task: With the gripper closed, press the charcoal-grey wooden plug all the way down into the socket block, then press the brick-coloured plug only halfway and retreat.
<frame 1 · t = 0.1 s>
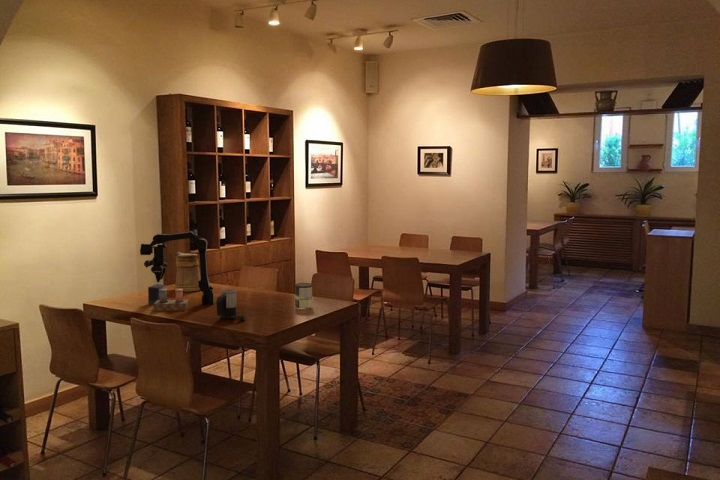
hand: (159, 280, 351), 15 cm above the table, fingers open, 9 cm apart
tankard: (186, 289, 400), on the table
coffee can: (303, 307, 350), on the table
milk frother: (233, 319, 322), on the table
small box: (157, 302, 358), on the table
grey plug: (163, 296, 342), point 7 cm above the table, slide at 0.0 cm
brick plug: (179, 296, 343), point 7 cm above the table, slide at 0.0 cm
socket block: (171, 308, 343), on the table
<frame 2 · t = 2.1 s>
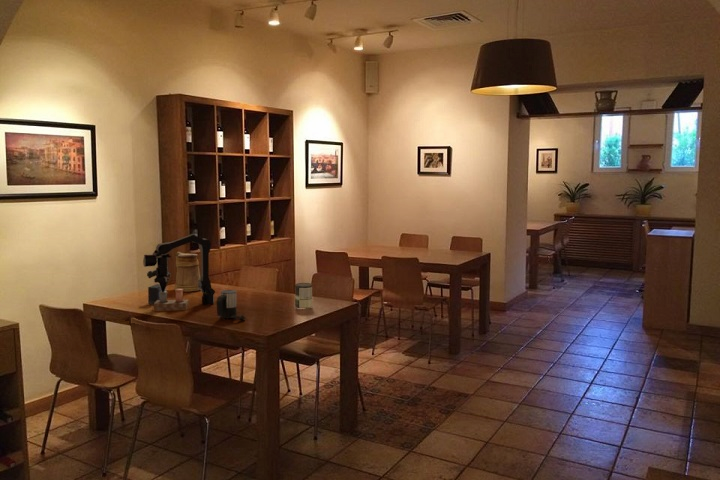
hand: (163, 291, 342), 10 cm above the table, fingers closed, pressing on grey plug
grey plug: (163, 298, 342), point 6 cm above the table, slide at 1.2 cm, touching gripper
everything else where it was.
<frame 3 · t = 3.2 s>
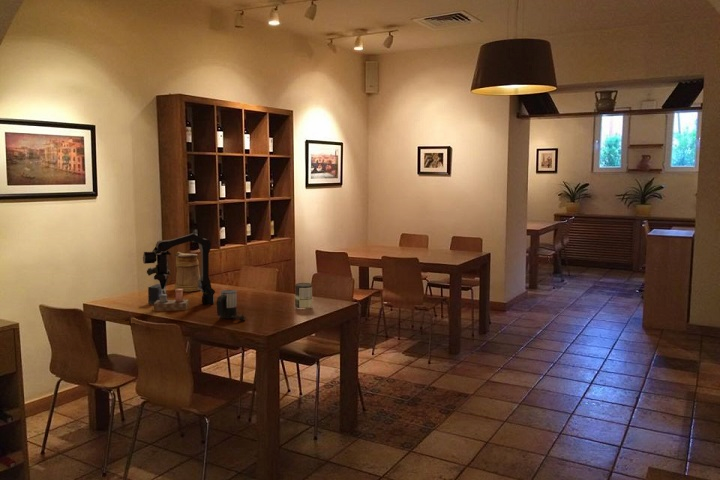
hand: (162, 289, 341), 12 cm above the table, fingers closed
grey plug: (163, 301, 342), point 4 cm above the table, slide at 3.0 cm
everything else where it was.
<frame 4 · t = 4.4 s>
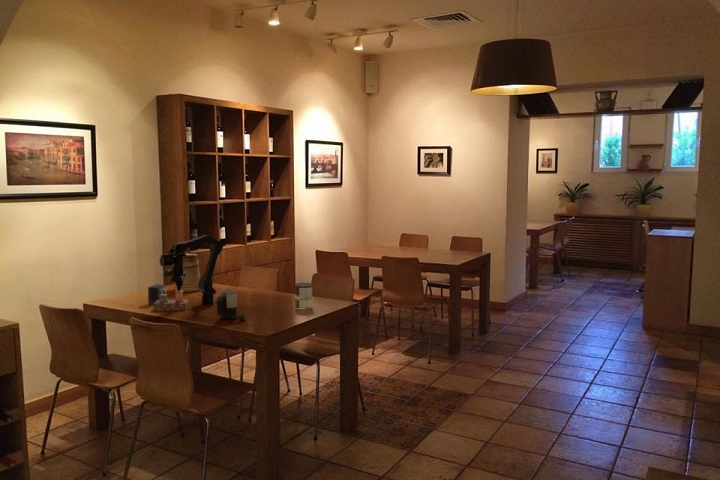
hand: (179, 290, 343), 10 cm above the table, fingers closed, pressing on brick plug
brick plug: (179, 297, 343), point 6 cm above the table, slide at 0.8 cm, touching gripper
everything else where it was.
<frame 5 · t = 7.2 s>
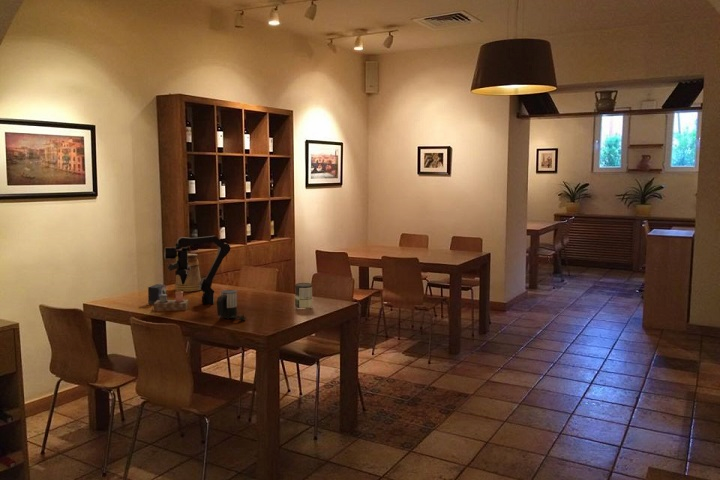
hand: (183, 284, 350), 13 cm above the table, fingers closed
brick plug: (179, 298, 343), point 6 cm above the table, slide at 1.4 cm
everything else where it was.
at the end: grey plug slide at 3.0 cm; brick plug slide at 1.4 cm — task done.
